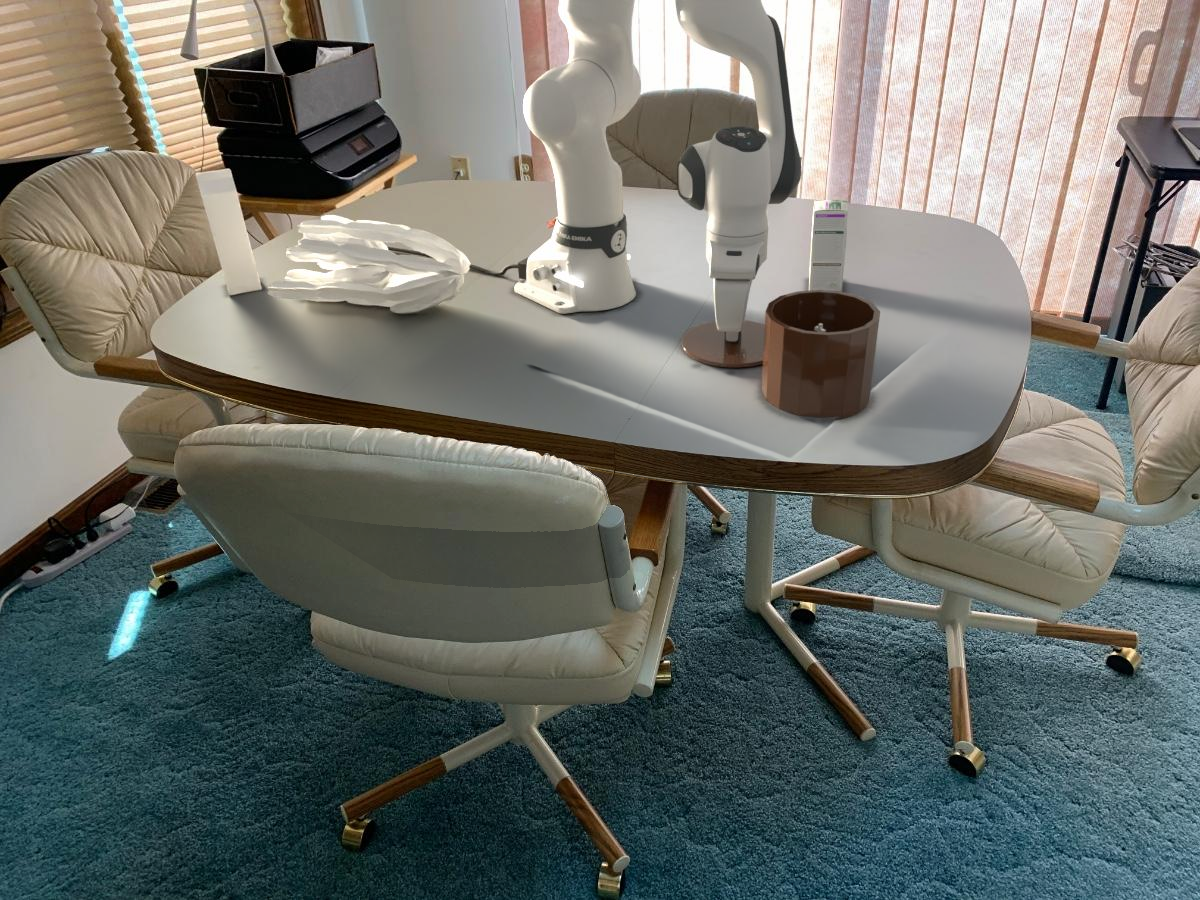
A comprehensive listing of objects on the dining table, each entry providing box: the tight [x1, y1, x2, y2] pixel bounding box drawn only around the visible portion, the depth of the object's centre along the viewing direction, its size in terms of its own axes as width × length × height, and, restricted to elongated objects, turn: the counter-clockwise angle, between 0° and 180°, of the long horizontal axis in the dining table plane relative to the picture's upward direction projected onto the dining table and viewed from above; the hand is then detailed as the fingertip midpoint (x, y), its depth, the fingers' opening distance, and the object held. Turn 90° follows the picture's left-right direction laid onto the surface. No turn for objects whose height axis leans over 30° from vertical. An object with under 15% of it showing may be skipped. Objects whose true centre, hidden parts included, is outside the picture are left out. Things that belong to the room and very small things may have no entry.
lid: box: [680, 319, 765, 368], centre depth 139 cm, size 16×16×5 cm
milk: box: [195, 168, 263, 296], centre depth 168 cm, size 6×6×22 cm
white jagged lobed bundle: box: [267, 214, 471, 315], centre depth 159 cm, size 17×18×35 cm
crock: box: [761, 290, 881, 421], centre depth 124 cm, size 15×15×13 cm
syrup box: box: [808, 199, 849, 292], centre depth 156 cm, size 6×6×14 cm
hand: (733, 333), depth 139 cm, fingers closed on lid, 2 cm apart
